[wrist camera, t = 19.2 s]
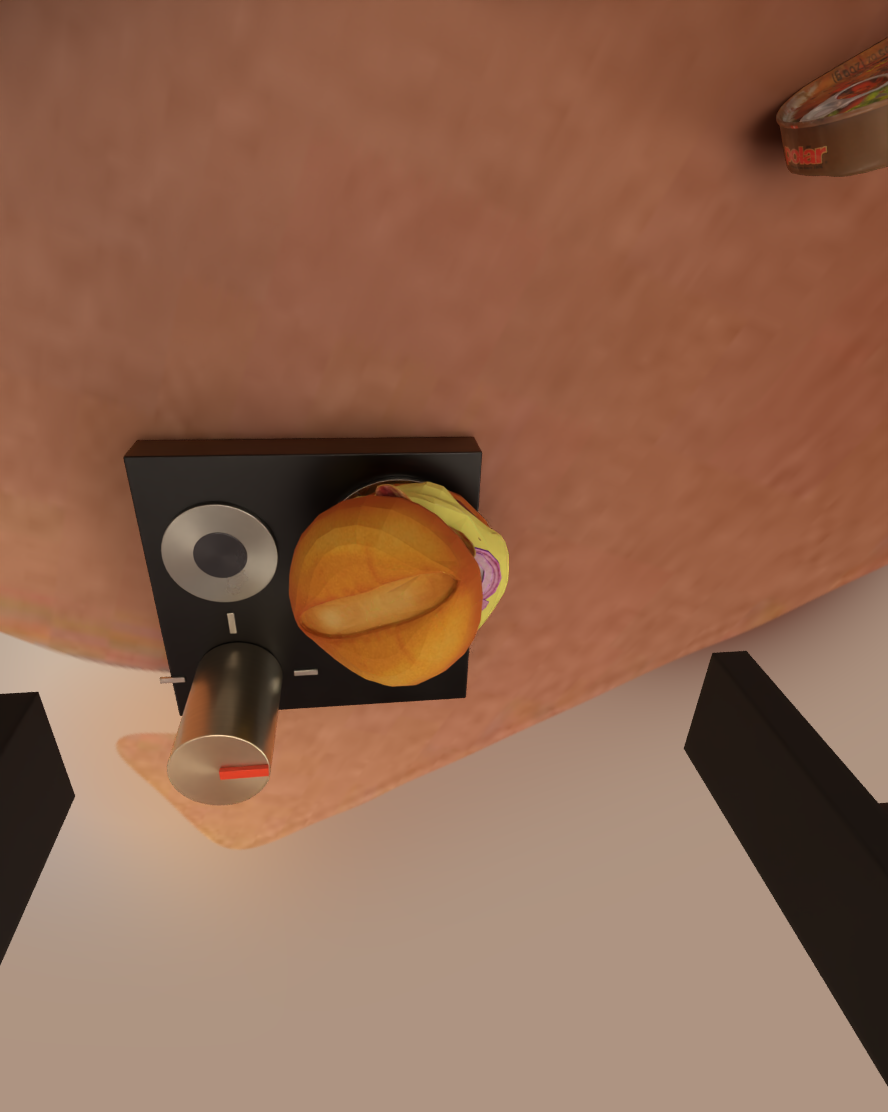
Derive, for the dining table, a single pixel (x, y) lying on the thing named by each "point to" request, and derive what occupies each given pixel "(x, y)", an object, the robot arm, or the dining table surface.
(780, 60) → the dining table surface
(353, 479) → the stove
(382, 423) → the dining table surface
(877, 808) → the robot arm
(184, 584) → the burners
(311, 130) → the dining table surface
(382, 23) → the dining table surface
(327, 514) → the cheeseburger
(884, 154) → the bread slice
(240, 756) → the stove knob
